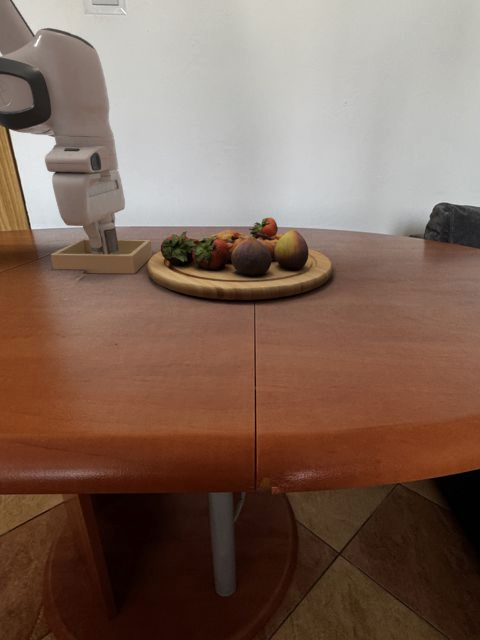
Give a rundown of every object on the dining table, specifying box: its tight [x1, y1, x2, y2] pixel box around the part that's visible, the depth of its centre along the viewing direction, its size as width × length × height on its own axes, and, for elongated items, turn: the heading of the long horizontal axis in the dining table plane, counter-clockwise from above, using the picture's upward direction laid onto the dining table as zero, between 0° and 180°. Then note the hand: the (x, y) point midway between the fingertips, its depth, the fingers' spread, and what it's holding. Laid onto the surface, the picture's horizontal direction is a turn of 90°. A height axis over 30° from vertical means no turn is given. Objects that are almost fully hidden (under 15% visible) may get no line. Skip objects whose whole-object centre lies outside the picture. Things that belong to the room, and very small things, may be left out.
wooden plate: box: [146, 217, 334, 301], centre depth 65 cm, size 32×32×8 cm
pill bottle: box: [91, 212, 120, 255], centre depth 68 cm, size 5×5×8 cm
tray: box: [50, 238, 154, 275], centre depth 69 cm, size 14×13×3 cm
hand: (103, 243), depth 68 cm, fingers closed on pill bottle, 5 cm apart
